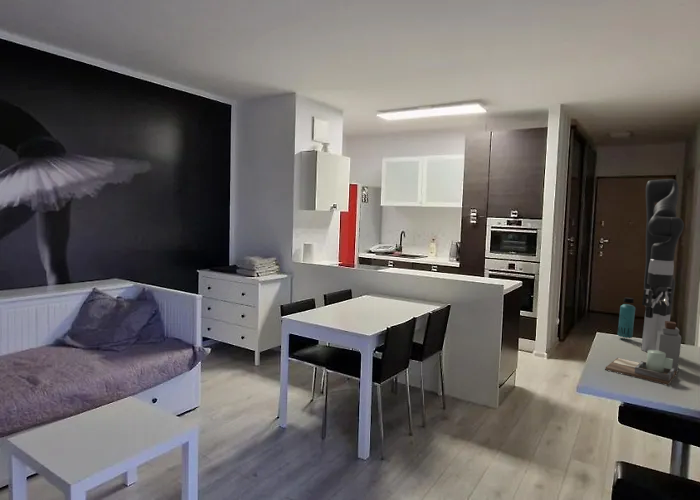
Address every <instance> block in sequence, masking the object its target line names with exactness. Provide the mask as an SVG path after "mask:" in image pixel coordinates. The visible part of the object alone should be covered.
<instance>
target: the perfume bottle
mask: <svg viewBox="0 0 700 500" xmlns="http://www.w3.org/2000/svg"><path fill="white" fill-rule="evenodd" d="M681 345H682V335H680V329H679V328H678V327H677V323H676V322H675V321H671V320H670V321H665V326H661V331H659V330H658V332H657V341H656V350H657V351H661V352H664V353H666V358H670V359H673V365H672V368H674V369H675V371H677V373H678V371H679V363H680V355H681V353H680V352H681V347H682V346H681Z"/></svg>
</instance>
